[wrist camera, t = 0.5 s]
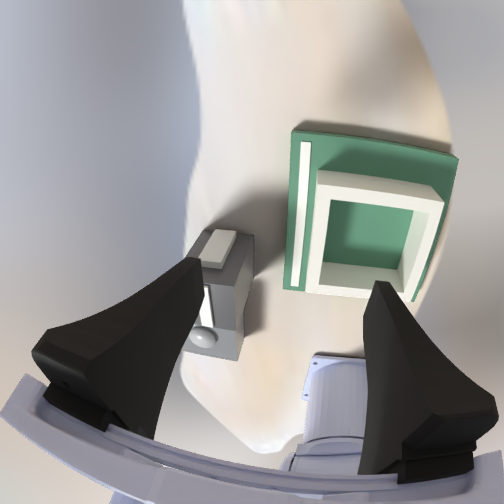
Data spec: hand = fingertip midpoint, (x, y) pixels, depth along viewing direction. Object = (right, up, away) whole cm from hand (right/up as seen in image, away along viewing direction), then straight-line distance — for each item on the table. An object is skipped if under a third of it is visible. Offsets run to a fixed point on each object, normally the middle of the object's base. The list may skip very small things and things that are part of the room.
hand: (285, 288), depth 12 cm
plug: (-3, +1, +12) cm, 12 cm away
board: (+7, +4, +8) cm, 11 cm away
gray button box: (-5, -4, +16) cm, 17 cm away
